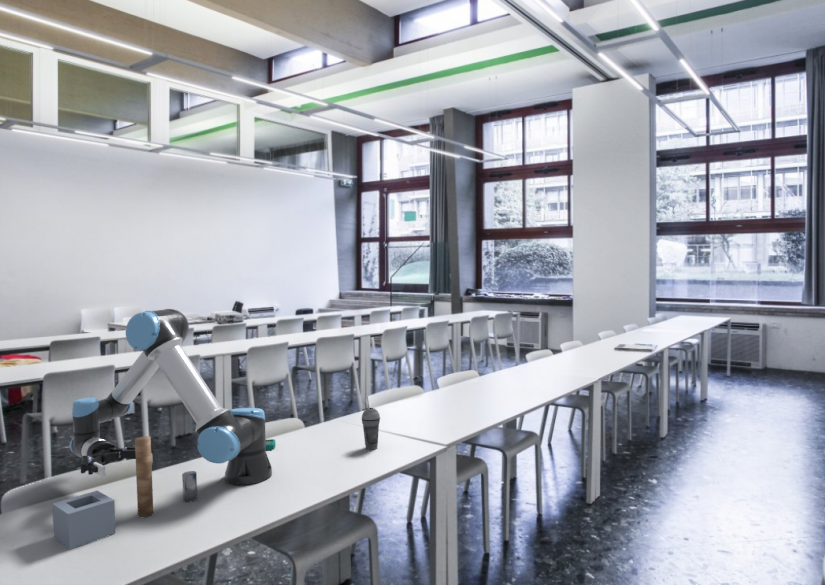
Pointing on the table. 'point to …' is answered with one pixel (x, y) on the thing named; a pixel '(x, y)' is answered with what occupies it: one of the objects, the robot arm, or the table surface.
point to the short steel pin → (189, 486)
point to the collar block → (83, 519)
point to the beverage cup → (371, 427)
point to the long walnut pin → (144, 476)
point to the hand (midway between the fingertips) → (128, 465)
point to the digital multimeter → (270, 444)
